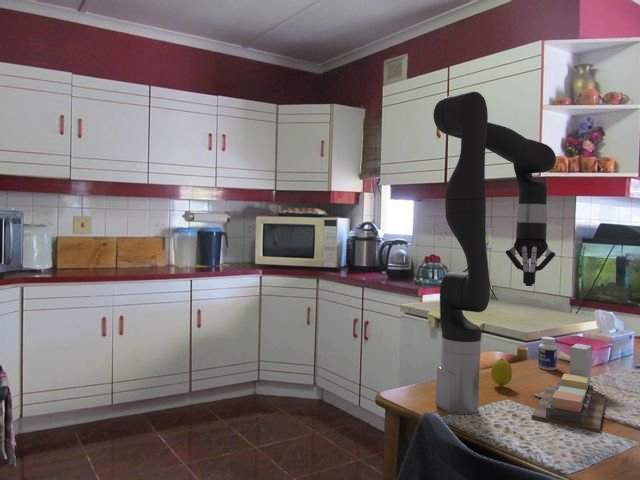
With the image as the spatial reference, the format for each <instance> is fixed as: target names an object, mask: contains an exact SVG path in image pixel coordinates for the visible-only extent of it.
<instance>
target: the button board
mask: <svg viewBox="0 0 640 480" xmlns="http://www.w3.org/2000/svg"><path fill="white" fill-rule="evenodd" d="M559 386H561V380H560V379H559V381H558V383H557V384H556V386H554V385H547V387H546V389H545V391H544V393H543V394H542V396H541V398H540V400H539V402H538V403H537V405H536V407H535V408H534V411H533V412H532V415H531V419H532V420H537V421H542V422H545V423H546V422H547V423H552V424H557V425H561V426H567V427H571V428H576V429H582V430H587V431H593V432H597V433H600V431H601V424H602V419H603V415H604V414H603V412H604V408H605V407H604V406H605V401H606V394H600V393H596V392H595V393H594V385H591V384H590V385H588V391H587V392H586V399H585V402H583V408H582V412H581V413H580V412H574V411H569V410H563V409H558V408H553V407H552V397H553V395H554V393H555V391H558V388H559Z"/></svg>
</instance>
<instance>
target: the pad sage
mask: <svg viewBox="0 0 640 480" xmlns="http://www.w3.org/2000/svg"><path fill="white" fill-rule="evenodd" d="M558 391H561V392H567V393H573V394H578V395H583V402H585V399H586V390H583V389H577V388H571V387H565V386H559V388H558Z"/></svg>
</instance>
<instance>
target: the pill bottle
mask: <svg viewBox="0 0 640 480" xmlns="http://www.w3.org/2000/svg"><path fill="white" fill-rule="evenodd" d="M540 341H541V343H539V345H538V355H537V356H538V360H537V361H538V362H537V367H538V368H539V369H541V370H546V371H556V369H557V359H558V357H557V355H558V346H557V345H556V338H555V337H553V336H552V337H551V336H542V337H541V340H540Z"/></svg>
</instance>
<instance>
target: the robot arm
mask: <svg viewBox="0 0 640 480" xmlns="http://www.w3.org/2000/svg"><path fill="white" fill-rule="evenodd" d="M488 112H489V111H488V105H487V101H486V98H485V97H484V96H483V95H482V94H481V93H480V92H478V91H468V92H463V93H458V94H454V95H449V96H446V97H443V98H441V99H440V100H438V102H437V103H436V105H435V106H434V109H433V122H434V124H435V126H436V127H437V130H438V131H439V132H441V133H442V134H444V135H447V136H450V137H453V138H457V139H460V140H461V141H460V153H459V157H458V158H459V159H458V161H457V164H456V165H455V168H454V170H453V172H452V174H451V176H450V178H449V180H448V182H447V184H446V187H445V188H446V189H445V194H444V203H445V206H444V207H445V220H446V223H447V225H448V227H449V228H450V230H451V232H452V233H453V236H454V238H456V240H457V242H458V244H459V245H460V247H461V249H462V251H463V253H464V256H465V259H466V265H467V272H463V271H448V272H445V274H444V275H443V276H442V279H441V282H440V285H439V286H440V287H439V323H440V324H439V325H440V328H441V348H440V351H441V352H440V366H438V367H437V368H436V387H435V388H436V391H435V393H436V394H435V406H436V407H438V408H440V409H442V410H443V411H445V412H447V413H448V414H459V415H472V414H475V413H477V412H479V397H480V393H479V392H480V371H481V369H480V368H481V365H480V364H481V347H482V346H481V343H482V331H481V327H479V325H476V324H475V323H473V322H472V321H470V320H469V319H468V318H467V317H466V316H465V315H464V312H470V313H471V312H472V313H482V312H484V311H485V310H486V309H487V307H488V305H489V302H490V297H491V284H490V283H491V282H490V274H489V273H490V272H489V263H488V256H487V255H488V254H487V253H488V252H487V239H486V237H487V236H486V235H487V233H486V230H487V229H486V220H487V219H486V214H487V210H486V209H487V207H486V205H487V203H486V184H485V183H486V181H485V180H486V177H485V176H486V175H485V174H486V173H485V172H486V171H485V169H486V166H485V165H486V150H488V151H490V152H492V153H494V154H496V155H498V156H499V157H500V158H503V159H504V160H506V161H508V162H510V163H512V164H513V165H512V166H513V169H514V170H513V171H514V174H515V178H516V183H517V187H518V202H517V203H518V205H517V210H516V211H517V212H516V230H515V231H516V232H515V233H516V235H515V236H516V237H515V241H514V243H513V246H512V247H511V248H509V249H507V250H506V251H505V255H506V256H507V257H508V258H509V260H510V261H511V262H512V264H513V265H514V266H515V268H516V269H517V270H521V271H522V272H523V276H522V277H523V278H522V282H523V284H525V286H526V287H533V285H534V284H535V283H536V273H537V272H538V271H542V270H543V269H545V267H546V266H547V265H549V263H551V261H552V260H553V259H554V258H555V257H556V252H555V251H553V250H552V249H550V248H549V245H548V243H547V230H548V228H547V223H548V209H547V204H548V203H547V200H548V187H547V184H546V183H544V182H541V181H536V180H535V179H534V177H533V174H541V173H543V174H544V173H547V172H550V171H552V169H553V168H554V167H555V165H556V162H557V156H556V153H555V151H554V150H553V148H552V147H551V146H549V145H548V144H545V143H543V142H540V141H537V140H534V139H529V138H527V137H524V136H523V135H522V134H520V133H518V131H515V130H514V129H512V128H510V127H506V126H503V125H500V124H496V123H492V122H488V118H489V117H488V115H489V114H488ZM544 253H545V254H544ZM517 254H518V256H519V257H520V258H522V259H521V260H522V263H521V261H519V259H518V257H517V256H516V255H517ZM543 254H544V257H545V258H544V259H543V260H542V261H541V263H540V264H538V260H539V259H540V258H541V257H542V256H543ZM537 265H538V266H537Z"/></svg>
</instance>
